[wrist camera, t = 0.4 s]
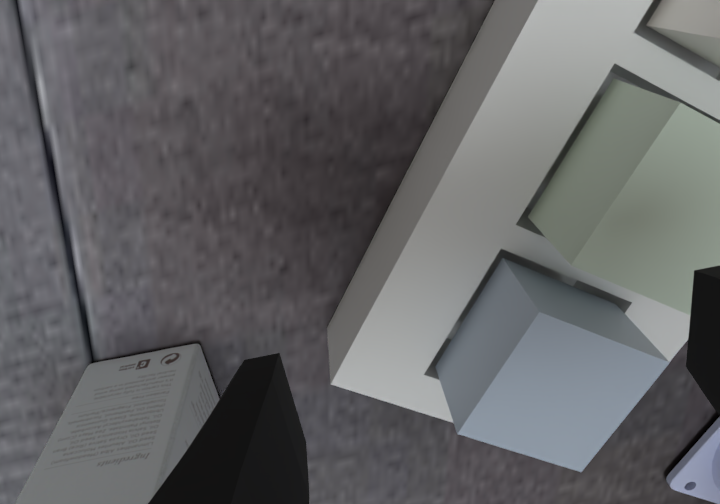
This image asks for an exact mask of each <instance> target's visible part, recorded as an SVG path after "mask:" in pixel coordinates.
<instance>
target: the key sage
mask: <svg viewBox="0 0 720 504" xmlns="http://www.w3.org/2000/svg"><path fill="white" fill-rule="evenodd" d="M528 218H529V219H530V220H531V221H532V222H533V223H534V225H535V226H536V227H537V228H538V229H539V230H540V231H541V232H542V234H543V235H544V236H545V237H546V238H547V239H548V240H549V241H550V243H551V244H552V245H553V246H554V247H555V248H556V249H557V250H558V251H559V253H560V254H561V255H562V256H563V257H564V258H565V259H566V260H567V262H568V263H569V264H570V265H571V266H574V267H576V268H578V269H581V270H583V271H585V272H588V273H590V274H593V275H595V276H597V277H600V278H602V279H605V280H607V281H609V282H612V283H614V284H616V285H619V286H621V287H624V288H626V289H628V290H631V291H633V292H636V293H638V294H640V295H643V296H645V297H647V298H650V299H652V300H655V301H657V302H659V303H662V304H664V305H667V306H669V307H671V308H674V309H676V310H678V311H681V312H683V313H686V314H688V315H690V314H691V302H692V290H693V278H694V270H699V269H704V268H709V267H714V266H719V265H720V124H719V123H717V122H716V121H714V120H712V119H710V118H708V117H706V116H704V115H703V114H701V113H699V112H697V111H695V110H693V109H692V108H690V107H688V106H686V105H684V104H682V103H680V102H678V101H675V100H672V99H669V98H667V97H664V96H661V95H658V94H656V93H653V92H650V91H647V90H645V89H642V88H639V87H636V86H634V85H631V84H628V83H625V82H623V81H620V80H617V79H614V78H613V80H612V81H611V83H610V85H609V86H608V88H607V89H606V91H605V93H604V94H603V96H602V97H601V99H600V101H599V102H598V104H597V106H596V107H595V109H594V110H593V112H592V114H591V115H590V117H589V118H588V120H587V122H586V123H585V125H584V127H583V128H582V130H581V131H580V133H579V135H578V136H577V138H576V140H575V141H574V143H573V144H572V146H571V148H570V149H569V151H568V152H567V154H566V156H565V157H564V159H563V161H562V162H561V164H560V165H559V167H558V169H557V170H556V172H555V174H554V175H553V177H552V178H551V180H550V182H549V183H548V185H547V186H546V188H545V190H544V191H543V193H542V195H541V196H540V198H539V199H538V201H537V203H536V204H535V206H534V207H533V209H532V211H531V212H530V214H529V216H528Z"/></svg>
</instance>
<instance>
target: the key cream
mask: <svg viewBox="0 0 720 504" xmlns="http://www.w3.org/2000/svg"><path fill="white" fill-rule="evenodd" d="M646 26H648V27H650V28H652V29H653V30H655V31H657V32H659V33H660V34H662V35H664V36H665V37H667V38H669V39H671V40H672V41H674V42H676V43H678V44H679V45H681V46H683V47H685V48H686V49H688V50H690V51H692V52H693V53H695V54H697V55H699V56H700V57H702V58H704V59H706V60H707V61H709V62H711V63H713V64H714V65H716V66H718V67H720V0H661V2H660V4H659V5H658V7H657V8H656V10H655V12H654V13H653V15H652V17H651V18H650V20H649V21H648V23H647V25H646Z"/></svg>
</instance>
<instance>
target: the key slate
mask: <svg viewBox="0 0 720 504" xmlns="http://www.w3.org/2000/svg"><path fill="white" fill-rule="evenodd" d="M669 363H670V362H669V361H668V360H667V359H666V358H665V357H664V356H663V354H662V353H661V352H660V351H659V350H658V349H657V348H656V347H655V346H654V345H653V344H652V343H651V341H650V340H649V339H648V338H647V337H646V336H645V335H644V334H643V333H642V332H641V331H640V330H639V328H638V327H637V326H636V325H635V324H634V323H633V322H632V321H631V320H630V319H629V318H628V317H627V315H626V314H625V313H624V312H623V311H622V310H621V309H620V308H619V307H618V306H617V305H616V304H615V303H612V302H610V301H607V300H605V299H602V298H600V297H598V296H595V295H593V294H590V293H588V292H585V291H583V290H580V289H578V288H575V287H573V286H571V285H568V284H566V283H563V282H561V281H558V280H556V279H553V278H551V277H549V276H546V275H544V274H541V273H539V272H536V271H534V270H531V269H529V268H527V267H524V266H522V265H519V264H517V263H514V262H512V261H509V260H507V259H504V258H502V259H501V261H500V263H499V264H498V266H497V267H496V269H495V271H494V272H493V274H492V275H491V277H490V279H489V280H488V282H487V284H486V285H485V287H484V288H483V290H482V292H481V293H480V295H479V296H478V298H477V300H476V301H475V303H474V305H473V306H472V308H471V309H470V311H469V313H468V314H467V316H466V318H465V319H464V321H463V322H462V324H461V326H460V327H459V329H458V330H457V332H456V334H455V335H454V337H453V339H452V340H451V342H450V343H449V345H448V347H447V348H446V350H445V351H444V353H443V355H442V356H441V358H440V360H439V361H438V363H437V364H436V366H435V368H436V371H437V374H438V377H439V380H440V383H441V386H442V389H443V392H444V395H445V398H446V401H447V404H448V407H449V410H450V413H451V416H452V419H453V422H454V425H455V428H456V431H457V434H459V435H462V436H466V437H469V438H472V439H475V440H479V441H482V442H485V443H488V444H492V445H495V446H498V447H501V448H505V449H508V450H511V451H514V452H517V453H521V454H524V455H527V456H530V457H534V458H537V459H540V460H543V461H547V462H550V463H553V464H556V465H560V466H563V467H566V468H569V469H572V470H576V471H579V472H582V471H583V470H584V468H585V467H586V466H587V465H588V463H589V462H590V461H591V460H592V458H593V457H594V456H595V455H596V453H597V452H598V451H599V450H600V448H601V447H602V446H603V445H604V444H605V442H606V441H607V440H608V439H609V437H610V436H611V435H612V434H613V432H614V431H615V430H616V429H617V427H618V426H619V425H620V424H621V423H622V421H623V420H624V419H625V418H626V416H627V415H628V414H629V413H630V411H631V410H632V409H633V408H634V406H635V405H636V404H637V403H638V401H639V400H640V399H641V398H642V397H643V395H644V394H645V393H646V392H647V390H648V389H649V388H650V387H651V385H652V384H653V383H654V382H655V380H656V379H657V378H658V377H659V375H660V374H661V373H662V372H663V371H664V369H665V368H666V367H667V366H668V364H669Z"/></svg>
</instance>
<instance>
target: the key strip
mask: <svg viewBox="0 0 720 504" xmlns="http://www.w3.org/2000/svg"><path fill="white" fill-rule="evenodd" d="M660 2H661V0H495V1H494V3H493V5H492V7H491V9H490V11H489V13H488V15H487V16H486V18H485V20H484V22H483V24H482V26H481V28H480V30H479V32H478V34H477V36H476V38H475V40H474V42H473V44H472V46H471V48H470V50H469V52H468V54H467V55H466V57H465V59H464V61H463V63H462V65H461V67H460V69H459V71H458V73H457V75H456V77H455V79H454V81H453V83H452V85H451V87H450V89H449V91H448V93H447V94H446V96H445V98H444V100H443V102H442V104H441V106H440V108H439V110H438V112H437V114H436V116H435V118H434V120H433V122H432V124H431V126H430V128H429V130H428V132H427V133H426V135H425V137H424V139H423V141H422V143H421V145H420V147H419V149H418V151H417V153H416V155H415V157H414V159H413V161H412V163H411V165H410V167H409V169H408V171H407V173H406V174H405V176H404V178H403V180H402V182H401V184H400V186H399V188H398V190H397V192H396V194H395V196H394V198H393V200H392V202H391V204H390V206H389V208H388V210H387V212H386V213H385V215H384V217H383V219H382V221H381V223H380V225H379V227H378V229H377V231H376V233H375V235H374V237H373V239H372V241H371V243H370V245H369V247H368V249H367V251H366V252H365V254H364V256H363V258H362V260H361V262H360V264H359V266H358V268H357V270H356V272H355V274H354V276H353V278H352V280H351V282H350V284H349V286H348V288H347V290H346V291H345V293H344V295H343V297H342V299H341V301H340V303H339V305H338V307H337V309H336V311H335V313H334V315H333V317H332V319H331V321H330V323H329V325H328V327H327V337H328V352H329V367H330V382H331V385H334V386H338V387H341V388H344V389H347V390H350V391H354V392H357V393H360V394H363V395H366V396H370V397H373V398H376V399H379V400H382V401H385V402H389V403H392V404H395V405H398V406H401V407H405V408H408V409H411V410H414V411H417V412H420V413H424V414H427V415H430V416H433V417H436V418H440V419H443V420H446V421H449V422H452V423H454V422H453V419H452V416H451V413H450V410H449V407H448V404H447V401H446V398H445V395H444V392H443V389H442V386H441V383H440V380H439V377H438V374H437V371H436V368H435V366H436V364H437V363H438V361H439V360H440V358H441V356H442V355H443V353H444V351H445V350H446V348H447V347H448V345H449V343H450V342H451V340H452V339H453V337H454V335H455V334H456V332H457V330H458V329H459V327H460V326H461V324H462V322H463V321H464V319H465V318H466V316H467V314H468V313H469V311H470V309H471V308H472V306H473V305H474V303H475V301H476V300H477V298H478V296H479V295H480V293H481V292H482V290H483V288H484V287H485V285H486V284H487V282H488V280H489V279H490V277H491V275H492V274H493V272H494V271H495V269H496V267H497V266H498V264H499V263H500V261H501V259H502V258H504V259H507V260H509V261H512V262H514V263H517V264H519V265H522V266H524V267H527V268H529V269H531V270H534V271H536V272H539V273H541V274H544V275H546V276H549V277H551V278H553V279H556V280H558V281H561V282H563V283H566V284H568V285H571V286H573V287H575V288H578V289H580V290H583V291H585V292H588V293H590V294H593V295H595V296H598V297H600V298H602V299H605V300H607V301H610V302H612V303H615V304H616V305H617V306H618V307H619V308H620V309H621V310H622V311H623V312H624V313H625V314H626V315H627V317H628V318H629V319H630V320H631V321H632V322H633V323H634V324H635V325H636V326H637V327H638V328H639V330H640V331H641V332H642V333H643V334H644V335H645V336H646V337H647V338H648V339H649V340H650V341H651V343H652V344H653V345H654V346H655V347H656V348H657V349H658V350H659V351H660V352H661V353H662V354H663V356H664V357H665V358H666V359H667V360H668V361H669V362H670V361H671V360H672V359H673V357H674V356H675V355H676V354H677V352H678V351H679V350H680V349H681V347H682V346H683V345H684V344H685V342H686V341H687V340H688V338H689V326H690V315H688V314H686V313H683V312H681V311H678V310H676V309H674V308H671V307H669V306H667V305H664V304H662V303H659V302H657V301H655V300H652V299H650V298H647V297H645V296H643V295H640V294H638V293H636V292H633V291H631V290H628V289H626V288H624V287H621V286H619V285H616V284H614V283H612V282H609V281H607V280H605V279H602V278H600V277H597V276H595V275H593V274H590V273H588V272H585V271H583V270H581V269H578V268H576V267H574V266H571V265H570V264H569V263H568V262H567V260H566V259H565V258H564V257H563V256H562V255H561V254H560V253H559V251H558V250H557V249H556V248H555V247H554V246H553V245H552V244H551V243H550V241H549V240H548V239H547V238H546V237H545V236H544V235H543V234H542V232H541V231H540V230H539V229H538V228H537V227H536V226H535V225H534V223H533V222H532V221H531V220H530V219H529V218H528V216H529V214H530V212H531V211H532V209H533V207H534V206H535V204H536V203H537V201H538V199H539V198H540V196H541V195H542V193H543V191H544V190H545V188H546V186H547V185H548V183H549V182H550V180H551V178H552V177H553V175H554V174H555V172H556V170H557V169H558V167H559V165H560V164H561V162H562V161H563V159H564V157H565V156H566V154H567V152H568V151H569V149H570V148H571V146H572V144H573V143H574V141H575V140H576V138H577V136H578V135H579V133H580V131H581V130H582V128H583V127H584V125H585V123H586V122H587V120H588V118H589V117H590V115H591V114H592V112H593V110H594V109H595V107H596V106H597V104H598V102H599V101H600V99H601V97H602V96H603V94H604V93H605V91H606V89H607V88H608V86H609V85H610V83H611V81H612V80H613V78H614V79H617V80H620V81H623V82H625V83H628V84H631V85H634V86H636V87H639V88H642V89H645V90H647V91H650V92H653V93H656V94H658V95H661V96H664V97H667V98H669V99H672V100H675V101H678V102H680V103H682V104H684V105H686V106H688V107H690V108H692V109H693V110H695V111H697V112H699V113H701V114H703V115H704V116H706V117H708V118H710V119H712V120H714V121H716V122H717V123H719V124H720V67H718V66H716V65H714V64H713V63H711V62H709V61H707V60H706V59H704V58H702V57H700V56H699V55H697V54H695V53H693V52H692V51H690V50H688V49H686V48H685V47H683V46H681V45H679V44H678V43H676V42H674V41H672V40H671V39H669V38H667V37H665V36H664V35H662V34H660V33H659V32H657V31H655V30H653V29H652V28H650V27H648V26H646V25H647V23H648V21H649V20H650V18H651V17H652V15H653V13H654V12H655V10H656V8H657V7H658V5H659V4H660Z"/></svg>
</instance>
